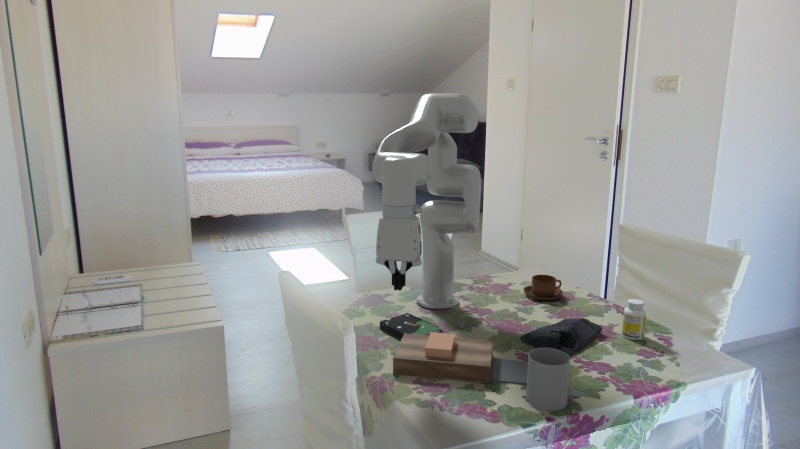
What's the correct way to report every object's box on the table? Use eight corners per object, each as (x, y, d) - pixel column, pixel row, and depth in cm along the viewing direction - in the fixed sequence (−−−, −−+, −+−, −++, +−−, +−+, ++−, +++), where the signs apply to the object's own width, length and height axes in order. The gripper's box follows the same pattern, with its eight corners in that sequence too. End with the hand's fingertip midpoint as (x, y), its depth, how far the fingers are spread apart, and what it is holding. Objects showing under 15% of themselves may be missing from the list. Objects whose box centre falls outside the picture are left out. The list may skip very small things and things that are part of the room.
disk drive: (378, 331, 160) (415, 348, 148) (378, 321, 159) (414, 338, 148) (407, 321, 166) (444, 337, 155) (407, 312, 165) (444, 327, 154)
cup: (560, 390, 127) (562, 347, 125) (572, 410, 119) (575, 365, 117) (521, 390, 127) (523, 348, 125) (531, 411, 119) (534, 365, 117)
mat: (492, 359, 142) (492, 358, 141) (543, 363, 139) (543, 362, 139) (490, 381, 131) (490, 379, 131) (545, 386, 129) (546, 385, 129)
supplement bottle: (633, 331, 158) (637, 296, 156) (648, 339, 153) (651, 303, 151) (617, 333, 157) (620, 299, 154) (631, 341, 152) (634, 306, 149)
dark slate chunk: (612, 337, 155) (613, 320, 154) (564, 362, 141) (565, 344, 140) (562, 320, 166) (563, 305, 165) (513, 342, 152) (514, 325, 151)
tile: (430, 339, 143) (430, 332, 143) (455, 341, 142) (455, 334, 141) (425, 355, 134) (425, 347, 134) (451, 358, 133) (451, 350, 133)
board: (404, 348, 148) (404, 333, 147) (492, 355, 143) (492, 340, 143) (392, 374, 134) (392, 357, 133) (489, 383, 130) (490, 366, 129)
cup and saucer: (541, 288, 193) (542, 270, 192) (570, 298, 183) (572, 279, 182) (515, 295, 186) (516, 276, 185) (544, 306, 177) (545, 286, 175)
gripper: (433, 209, 135) (432, 285, 139) (370, 207, 138) (371, 281, 142) (429, 216, 128) (428, 296, 132) (362, 213, 130) (363, 291, 134)
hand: (398, 288), depth 137 cm, fingers closed
